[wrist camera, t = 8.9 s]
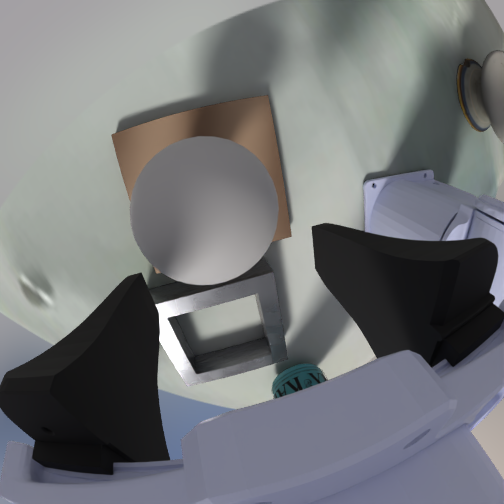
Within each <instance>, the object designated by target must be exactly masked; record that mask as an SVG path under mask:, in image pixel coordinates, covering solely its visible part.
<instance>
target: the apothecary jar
mask: <svg viewBox="0 0 504 504" xmlns="http://www.w3.org/2000/svg"><path fill="white" fill-rule="evenodd" d="M457 89H458V96H459V101H460V104H461V108H462V110H463V113H464V115H465V117H466V119H467V121H468V123H469V124H470V125H471V126H472V128H473V129H475V130H476V131H479V132H483V131H485V130H487V129H488V128H489V127H490V125H491V126H492V128H493V130H494V132H495V133H496V135H497V136H498V138H499V139H500V140H501V142H502V143H503V144H504V52H503V51H498V50H496V51H492V52H490V53H489V54H488V55H487V57H486V58H485V60H484V63H483V66H482V67H481V66H480V65H479V64H478V63H477V62H476V61H474V60H472V59H465V61H464V64H463V65H461V64H460V65H459V68H458V72H457Z"/></svg>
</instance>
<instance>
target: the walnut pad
mask: <svg viewBox="0 0 504 504" xmlns="http://www.w3.org/2000/svg"><path fill="white" fill-rule="evenodd" d="M197 136H212V137H219V138H223V139H228V140H231V141H233V142H235V143H237V144H239V145H242V146H244V147H245V148H246V149H248V150H249V151H250V152H252V153H253V154H254V155H255V156H256V157H257V158H258V159H259V160H260V161H261V162H262V164H263V165H264V166H265V168H266V169H267V171H268V173H269V175H270V177H271V178H272V180H273V183H274V186H275V189H276V192H277V197H278V207H279V210H278V220H277V227H276V231H275V234H274V237H273V240H272V242H273V241H277V240H281V239H284V238H288V237H292V236H291V229H290V222H289V215H288V208H287V201H286V195H285V188H284V182H283V176H282V170H281V164H280V158H279V152H278V146H277V141H276V135H275V130H274V124H273V119H272V114H271V108H270V103H269V98H268V95H266V96H259V97H252V98H246V99H240V100H235V101H229V102H224V103H219V104H214V105H210V106H205V107H201V108H197V109H192V110H188V111H185V112H181V113H177V114H173V115H170V116H166V117H163V118H159V119H156V120H153V121H150V122H146V123H143V124H140V125H137V126H134V127H131V128H129V129H126V130H123V131H120V132H118V133H115V134H112V139H113V143H114V147H115V151H116V155H117V159H118V162H119V166H120V169H121V173H122V176H123V180H124V183H125V186H126V190H127V193H128V196H129V199H130V202H131V195H132V191H133V188H134V185H135V183H136V180H137V178H138V176H139V174H140V173H141V171H142V170H143V168H144V167H145V165H146V164H147V163H148V162H149V161H150V160H151V159H152V158H153V157H154V156H155V155H156V154H157V153H158V152H160V151H161V150H163V149H164V148H166V147H167V146H169V145H171V144H173V143H175V142H178V141H180V140H183V139H187V138H192V137H197ZM154 269H155V271H156V274H157V273H161V272H160V271H159V270H158V269H156V268H155V267H154Z"/></svg>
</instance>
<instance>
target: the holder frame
mask: <svg viewBox="0 0 504 504" xmlns="http://www.w3.org/2000/svg"><path fill="white" fill-rule="evenodd" d="M149 291H150V294H151V296H152V298H153V300H154V302H155V305H156V307H157V309H158V311H159V320H160V342H161V343H162V345H163V347H164V349H165V350H166V352H167V354H168V356H169V357H170V359H171V361H172V362H173V364H174V366H175V367H176V369H177V371H178V372H179V374H180V376H181V377H182V379H183V380H184V382H185V384H186V385H187V386H191V385H195V384H200V383H204V382H209V381H213V380H217V379H221V378H225V377H229V376H233V375H237V374H240V373H244V372H247V371H251V370H254V369H258V368H261V367H265V366H268V365H271V364H274V363H278V362H281V361H284V360H287V359H288V356H287V350H286V343H285V337H284V331H283V325H282V319H281V313H280V307H279V301H278V295H277V289H276V284H275V278H274V272H273V270H272V269H271V267H270V265H269V264H268V262H267V260H266V259H265V258H262V259H260V260H259V261H258V262H257V263H256V264H255V265H254V266H253V267H251V268H250V269H249V270H248V271H246V272H245V273H243V274H241V275H240V276H238V277H236V278H233V279H231V280H229V281H226V282H222V283H217V284H213V285H194V284H187V283H183V282H180V281H179V282H175V283H171V284H168V285H164V286H160V287H157V288H153V289H149ZM254 294H255V297H256V301H257V305H258V310H259V314H260V318H261V323H262V327H263V331H264V336H265V338H261V339H258V340H255V341H251V342H248V343H244V344H241V345H237V346H234V347H230V348H226V349H223V350H219V351H215V352H211V353H207V354H203V355H199V356H195V357H194V355H193V353H192V351H191V349H190V347H189V345H188V343H187V340H186V338H185V336H184V334H183V332H182V330H181V328H180V326H179V324H178V321H177V319H176V317H175V316H177V315H181V314H184V313H188V312H192V311H196V310H200V309H203V308H207V307H211V306H215V305H218V304H222V303H225V302H229V301H233V300H236V299H240V298H243V297H247V296H250V295H254Z"/></svg>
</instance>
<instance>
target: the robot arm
mask: <svg viewBox="0 0 504 504" xmlns="http://www.w3.org/2000/svg"><path fill="white" fill-rule="evenodd" d="M373 183H374V186H373V187H372V184H373ZM363 189H364V214H365V232H364V231H360V230H356V229H352V228H348V227H344V226H340V225H335V224H329V223H323V224H319V225H316V226H312V236H313V247H314V259H315V269H316V271H317V272H318V274H319V276H320V277H321V279H322V281H323V282H324V284H325V285H326V287H327V288H328V289H329V290H330V292H331V293H332V294H333V295H334V296H335V298H336V299H337V300H338V301H339V302H340V304H341V305H342V306H343V307H344V308H345V310H346V311H347V312H348V313H349V315H350V316H351V317H352V318H353V320H354V321H355V322H356V324H357V325H358V326H359V328H360V330H361V331H362V333H363V335H364V336H365V338H366V339H367V341H368V343H369V345H370V346H371V348H372V350H373V352H374V354H375V355H376V357H377V359H376V360H374V361H371V362H369V363H367V364H365V365H363V366H361V367H358V368H356V369H354V370H352V371H349V372H347V373H345V374H342V375H340V376H337V377H335V378H333V379H330V380H327V381H325V382H322V383H320V384H317V385H314V386H312V387H309V388H306V389H303V390H300V391H298V392H295V393H292V394H289V395H286V396H282V397H279V398H276V399H273V400H270V401H266V402H263V403H259V404H256V405H252V406H248V407H244V408H241V409H237V410H233V411H229V412H226V413H224V414H221V415H218V416H216V417H213V418H210V419H207V420H204V421H201V422H200V423H199V424H197V425H196V426H195V427H194V428H193V429H192V430H191V431H190V432H189V433H188V434H187V435H185V436H184V437H183V438H182V439H181V446H182V455H183V459H178V460H170V457H169V453H168V450H167V446H166V441H165V436H164V431H163V426H162V420H161V413H160V407H159V398H158V386H157V373H158V356H159V341H160V320H159V311H158V309H157V307H156V305H155V302H154V300H153V298H152V296H151V294H150V291H149V289H148V287H147V285H146V282H145V280H144V278H143V275H142V273H138V274H134V275H131V276H128V277H126V278H125V279H124V280H123V281H122V282H121V283H120V284H119V285H118V286H117V287H116V288H115V289H114V290H113V291H112V292H111V293H110V294H109V296H108V297H107V298H106V299H105V300H104V301H103V302H102V303H101V304H100V305H99V306H98V307H97V308H96V309H95V310H94V311H93V312H92V313H91V314H90V316H89V317H88V318H87V319H85V320H84V321H83V322H82V323H81V324H80V325H79V326H78V327H77V328H76V329H74V330H73V331H72V332H71V333H70V334H68V335H67V336H66V337H65V338H63V339H62V340H61V341H59V342H58V343H57V344H55V345H54V346H53V347H51V348H50V349H48V350H47V351H45V352H44V353H42V354H41V355H39V356H37V357H35V358H34V359H32V360H30V361H28V362H27V363H25V364H23V365H21V366H19V367H17V368H15V369H13V370H11V371H8V372H7V373H6V374H5V375H4V378H3V380H2V382H1V385H0V408H1V409H2V411H3V412H4V413H5V414H6V416H7V417H8V418H9V419H10V420H11V421H13V422H14V423H15V424H16V425H17V426H18V427H19V428H20V429H22V430H23V431H24V432H25V433H26V434H28V435H29V436H30V437H31V438H33V439H34V440H35V445H34V447H32V446H30V445H27V444H24V443H18V442H14V441H8V444H7V448H6V453H5V458H4V463H3V469H2V475H1V482H0V497H2V498H4V499H5V500H7V501H9V502H11V503H13V504H504V479H503V478H502V476H501V475H500V473H499V472H498V470H497V469H496V467H495V466H494V464H493V463H492V461H491V460H490V458H489V457H488V455H487V454H486V452H485V451H484V450H483V448H482V447H481V445H480V444H479V442H478V441H477V440H476V438H475V437H474V435H473V434H472V433H471V430H472V429H474V428H475V427H476V426H477V425H478V424H479V423H480V422H481V421H482V420H483V419H484V418H485V417H486V416H487V415H488V414H489V413H490V412H491V411H492V410H493V409H494V408H495V406H496V405H497V404H498V403H499V402H500V401H501V400H502V399H503V398H504V202H502V201H500V200H497V199H495V198H492V197H490V196H487V195H484V194H483V195H481V196H479V198H477V197H476V196H474V195H473V194H471V193H468V192H466V191H463V190H461V189H458V188H456V187H453V186H450V185H448V184H445V183H442V182H439V181H437V180H434V172H433V170H430V169H428V170H422V171H416V172H410V173H404V174H398V175H393V176H387V177H382V178H376V179H371V180H367V181H365V182H364V185H363Z"/></svg>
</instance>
